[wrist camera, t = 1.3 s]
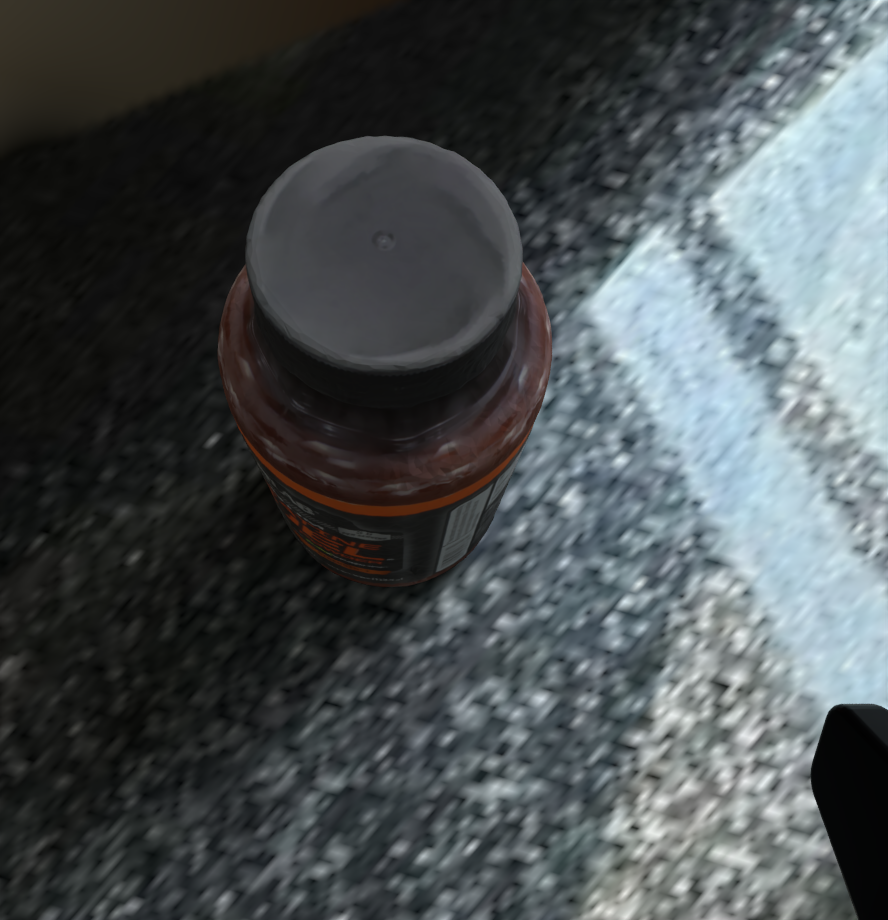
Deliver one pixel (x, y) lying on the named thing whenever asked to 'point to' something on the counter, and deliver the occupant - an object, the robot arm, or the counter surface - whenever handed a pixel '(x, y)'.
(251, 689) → the counter surface
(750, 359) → the counter surface
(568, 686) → the counter surface
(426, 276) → the supplement bottle
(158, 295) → the counter surface
